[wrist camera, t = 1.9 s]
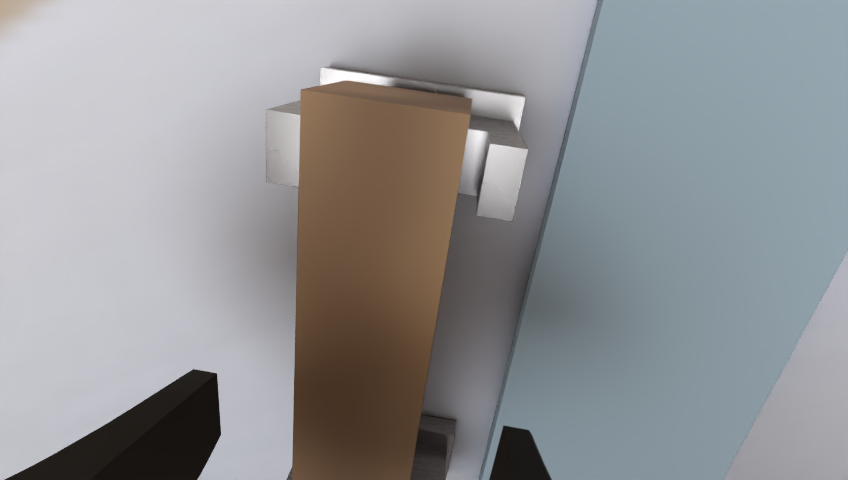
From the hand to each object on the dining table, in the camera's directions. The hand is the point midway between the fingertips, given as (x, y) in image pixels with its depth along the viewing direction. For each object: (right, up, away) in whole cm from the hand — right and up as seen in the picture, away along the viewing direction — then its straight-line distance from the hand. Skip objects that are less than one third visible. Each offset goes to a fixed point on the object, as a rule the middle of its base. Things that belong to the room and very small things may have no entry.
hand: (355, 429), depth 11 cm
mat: (+10, +3, +4) cm, 11 cm away
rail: (0, +1, +2) cm, 3 cm away
